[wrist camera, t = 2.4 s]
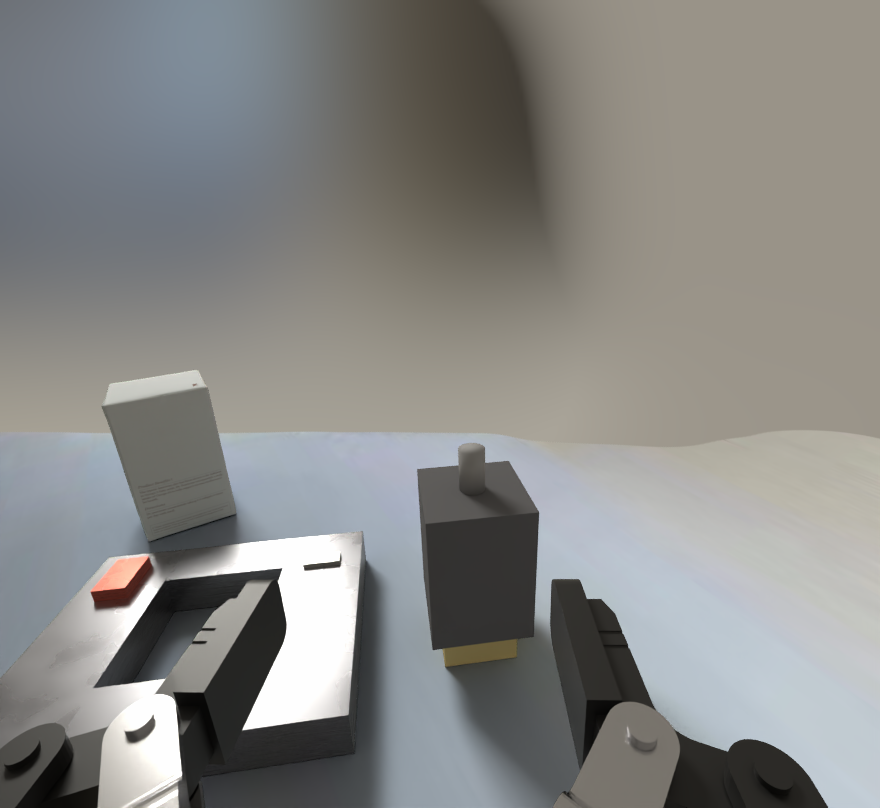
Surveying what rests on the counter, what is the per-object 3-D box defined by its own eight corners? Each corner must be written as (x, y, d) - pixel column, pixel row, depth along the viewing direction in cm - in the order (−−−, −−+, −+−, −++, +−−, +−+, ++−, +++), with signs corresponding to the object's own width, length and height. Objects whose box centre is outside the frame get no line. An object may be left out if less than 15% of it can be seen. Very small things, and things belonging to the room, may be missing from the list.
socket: (-63, 817, 19) (-98, 765, 18) (119, 586, 32) (106, 548, 31) (354, 753, 21) (346, 702, 20) (366, 559, 34) (361, 522, 33)
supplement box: (227, 482, 46) (201, 367, 42) (238, 515, 40) (209, 385, 36) (145, 505, 43) (108, 381, 39) (144, 544, 37) (99, 403, 33)
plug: (434, 679, 24) (423, 479, 20) (425, 603, 30) (415, 432, 25) (532, 666, 25) (540, 468, 21) (506, 593, 30) (509, 424, 26)
